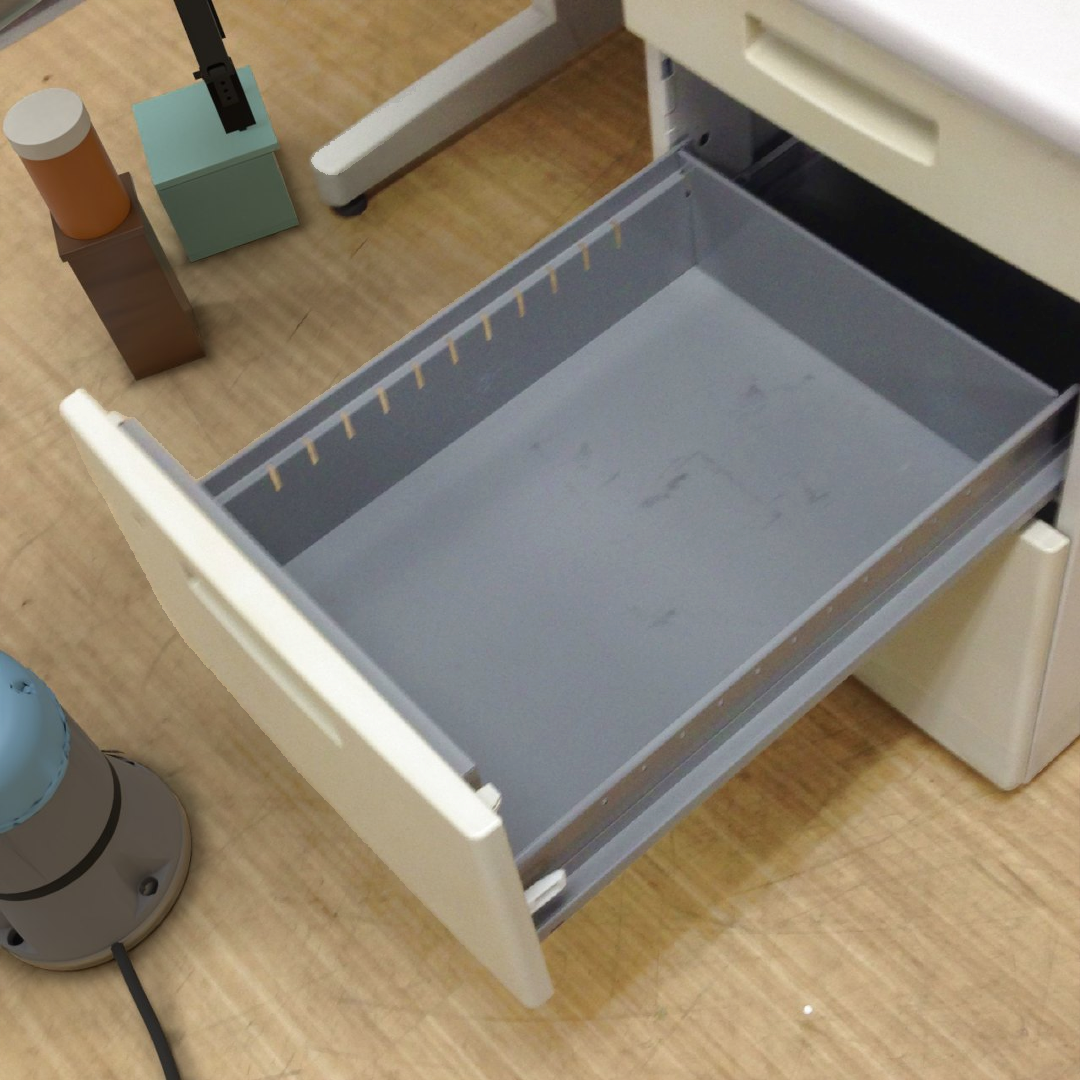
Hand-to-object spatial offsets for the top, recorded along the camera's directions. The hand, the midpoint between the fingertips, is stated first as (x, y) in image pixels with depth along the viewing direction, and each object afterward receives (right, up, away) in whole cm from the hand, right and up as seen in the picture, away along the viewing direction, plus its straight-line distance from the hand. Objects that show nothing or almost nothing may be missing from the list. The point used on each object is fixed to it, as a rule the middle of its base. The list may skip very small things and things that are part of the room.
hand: (225, 82), depth 133 cm
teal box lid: (-2, -3, +3) cm, 5 cm away
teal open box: (-2, -8, +10) cm, 13 cm away
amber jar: (-8, -14, -12) cm, 20 cm away
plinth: (-6, -23, +2) cm, 23 cm away
